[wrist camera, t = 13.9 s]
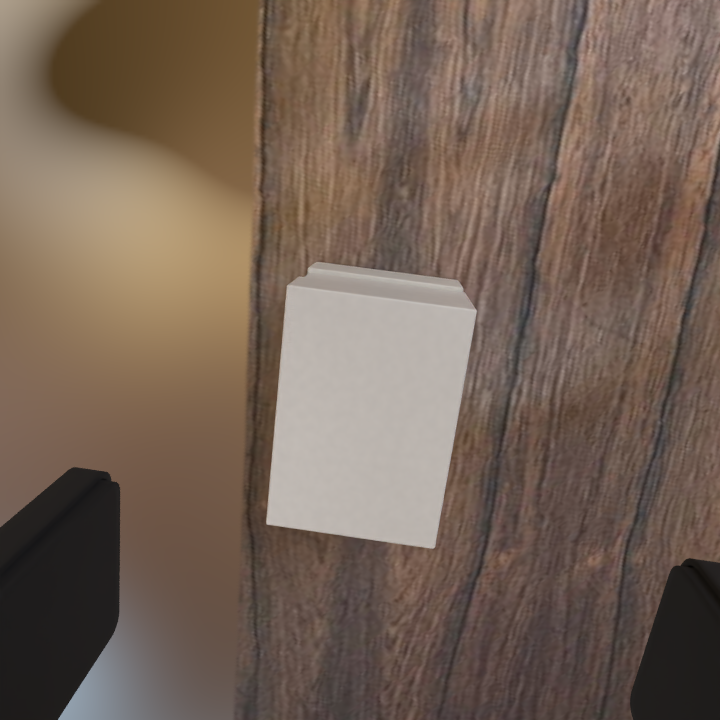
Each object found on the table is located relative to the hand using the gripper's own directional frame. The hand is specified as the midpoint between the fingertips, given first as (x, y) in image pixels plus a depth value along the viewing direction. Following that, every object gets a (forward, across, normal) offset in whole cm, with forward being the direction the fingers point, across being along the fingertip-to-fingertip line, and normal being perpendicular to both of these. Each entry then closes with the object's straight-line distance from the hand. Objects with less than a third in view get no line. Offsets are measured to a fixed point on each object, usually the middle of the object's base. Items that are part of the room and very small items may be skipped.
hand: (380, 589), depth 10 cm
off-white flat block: (+15, +1, +2) cm, 16 cm away
